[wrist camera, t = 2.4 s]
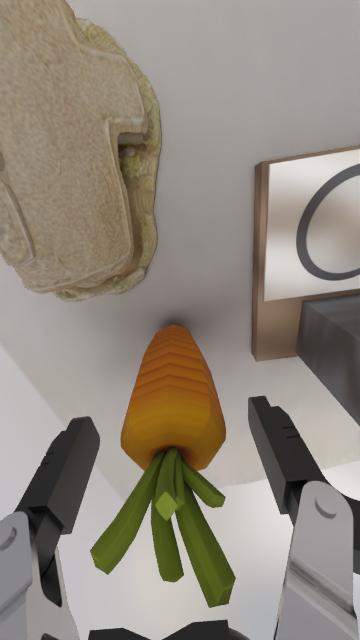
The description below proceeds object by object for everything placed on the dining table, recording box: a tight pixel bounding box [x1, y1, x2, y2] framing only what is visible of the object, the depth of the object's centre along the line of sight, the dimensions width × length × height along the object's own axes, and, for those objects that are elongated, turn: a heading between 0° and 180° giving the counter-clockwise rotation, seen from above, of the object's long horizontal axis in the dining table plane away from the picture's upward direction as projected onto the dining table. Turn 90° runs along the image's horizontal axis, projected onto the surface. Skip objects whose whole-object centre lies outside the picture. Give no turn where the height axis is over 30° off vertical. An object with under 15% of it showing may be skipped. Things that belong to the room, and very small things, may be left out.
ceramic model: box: [0, 0, 161, 302], centre depth 10 cm, size 14×11×10 cm
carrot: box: [90, 324, 236, 608], centre depth 12 cm, size 5×5×15 cm
